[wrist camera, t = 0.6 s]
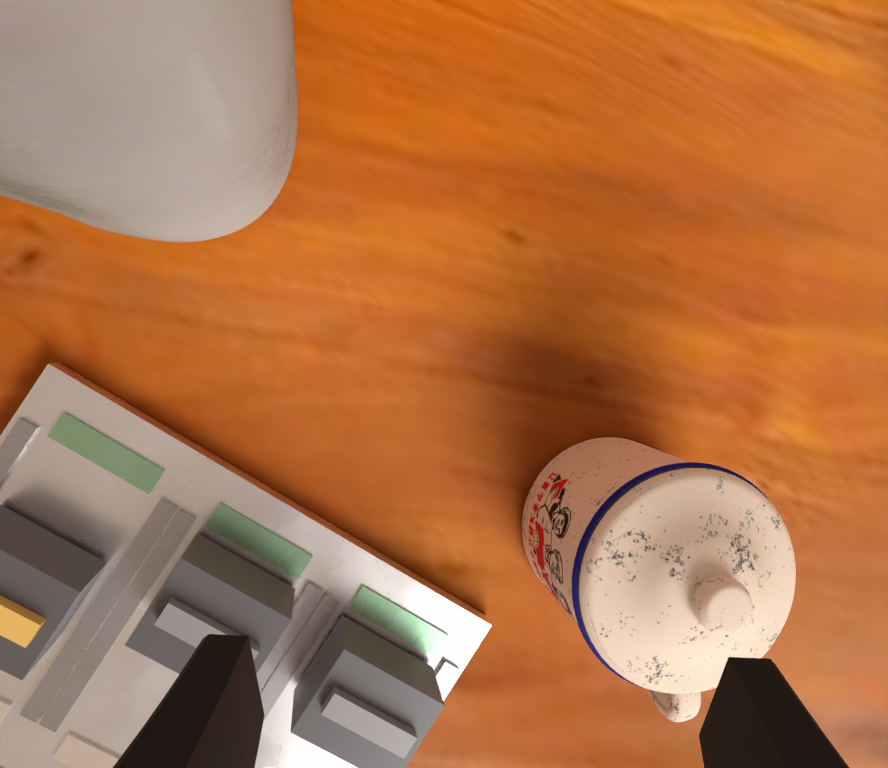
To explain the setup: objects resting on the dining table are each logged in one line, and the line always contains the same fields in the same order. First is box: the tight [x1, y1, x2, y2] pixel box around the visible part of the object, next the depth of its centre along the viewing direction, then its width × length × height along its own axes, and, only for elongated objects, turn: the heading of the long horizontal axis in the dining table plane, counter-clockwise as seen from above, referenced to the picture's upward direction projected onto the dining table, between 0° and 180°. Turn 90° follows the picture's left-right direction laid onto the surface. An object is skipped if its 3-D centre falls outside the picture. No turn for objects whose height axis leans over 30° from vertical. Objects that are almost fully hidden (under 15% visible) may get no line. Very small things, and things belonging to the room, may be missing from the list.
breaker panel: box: [0, 362, 492, 768], centre depth 33 cm, size 16×23×2 cm
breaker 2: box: [291, 616, 445, 768], centre depth 31 cm, size 4×5×4 cm
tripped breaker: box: [0, 505, 107, 680], centre depth 29 cm, size 4×5×4 cm
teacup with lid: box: [522, 437, 796, 722], centre depth 31 cm, size 12×9×12 cm
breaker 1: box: [125, 533, 295, 674], centre depth 30 cm, size 4×5×4 cm
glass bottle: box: [0, 0, 298, 242], centre depth 18 cm, size 10×10×28 cm
